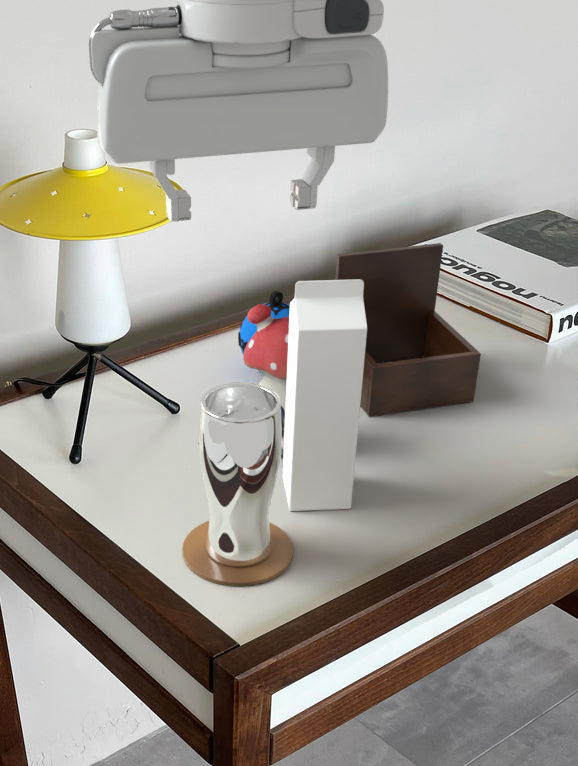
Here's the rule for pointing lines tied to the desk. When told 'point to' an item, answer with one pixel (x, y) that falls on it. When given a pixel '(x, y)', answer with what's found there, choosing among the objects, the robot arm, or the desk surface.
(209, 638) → the desk surface
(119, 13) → the robot arm
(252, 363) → the decorative ornament
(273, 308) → the ornament
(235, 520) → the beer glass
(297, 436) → the milk
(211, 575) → the coaster
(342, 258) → the cubby
